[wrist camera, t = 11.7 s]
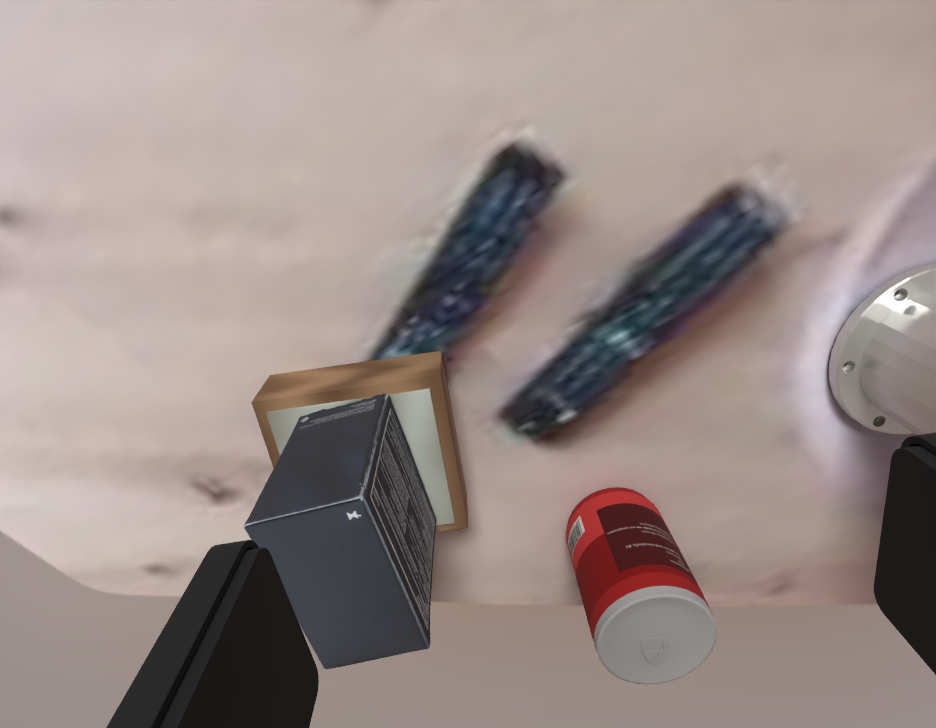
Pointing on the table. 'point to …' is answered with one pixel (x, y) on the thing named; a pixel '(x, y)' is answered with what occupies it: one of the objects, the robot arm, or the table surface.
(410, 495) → the small box
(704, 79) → the table surface
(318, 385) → the wooden box
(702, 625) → the canned food
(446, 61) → the table surface
